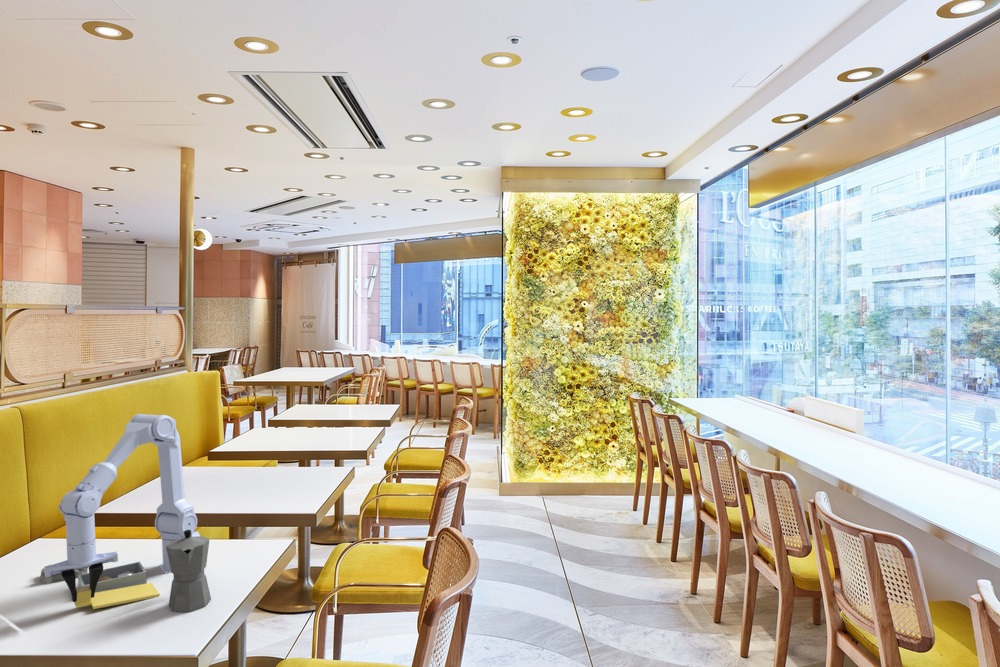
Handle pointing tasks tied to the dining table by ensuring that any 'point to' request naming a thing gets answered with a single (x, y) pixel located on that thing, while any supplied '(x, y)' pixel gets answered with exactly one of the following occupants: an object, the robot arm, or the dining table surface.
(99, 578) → the walnut block
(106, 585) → the tub
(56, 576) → the egg carton
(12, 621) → the dining table surface
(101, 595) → the lid
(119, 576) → the grey rounded puck
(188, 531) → the coffeepot
